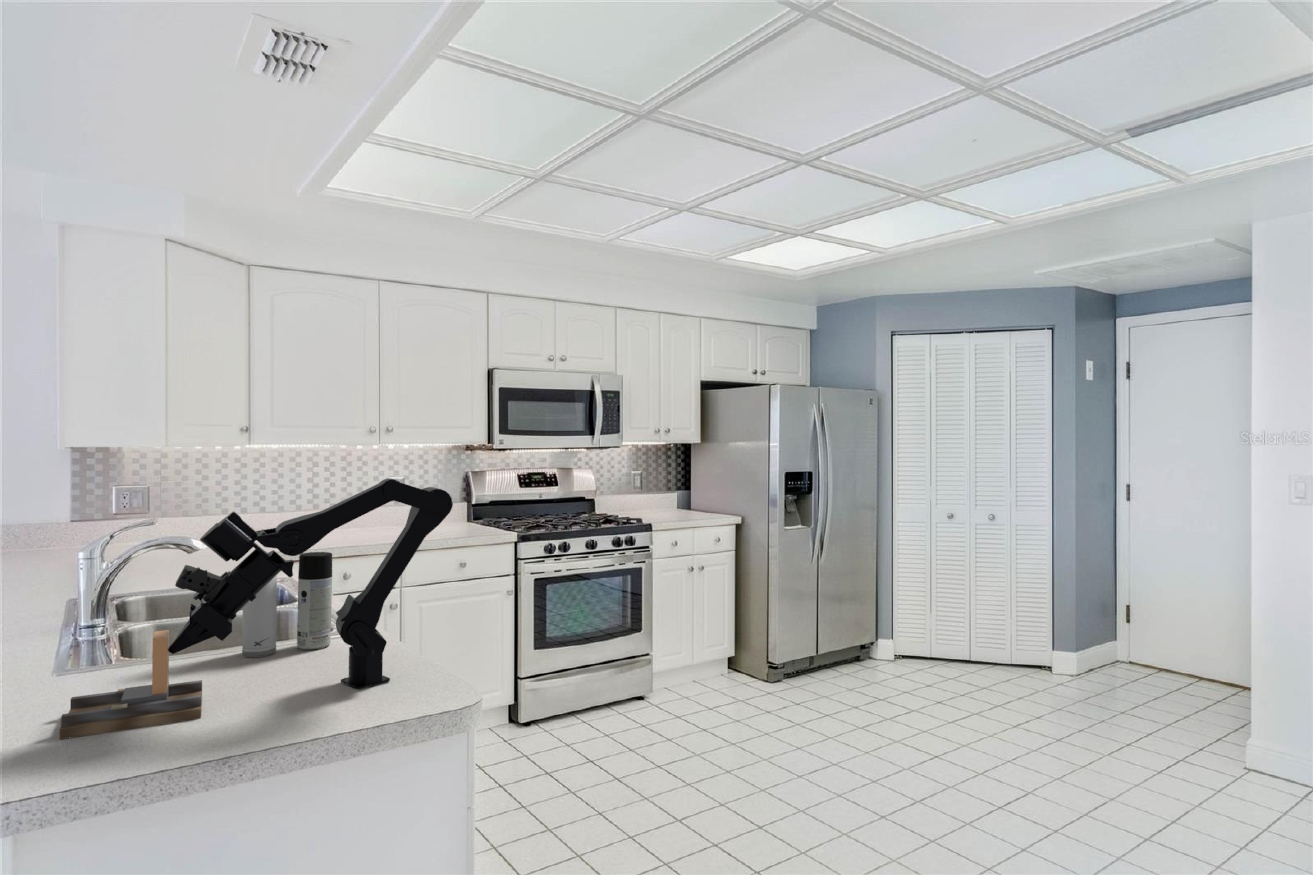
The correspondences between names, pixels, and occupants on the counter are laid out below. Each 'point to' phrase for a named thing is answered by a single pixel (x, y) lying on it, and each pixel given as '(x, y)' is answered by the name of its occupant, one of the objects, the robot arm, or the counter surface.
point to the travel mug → (260, 623)
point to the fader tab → (153, 674)
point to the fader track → (130, 711)
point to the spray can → (314, 600)
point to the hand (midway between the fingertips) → (170, 651)
